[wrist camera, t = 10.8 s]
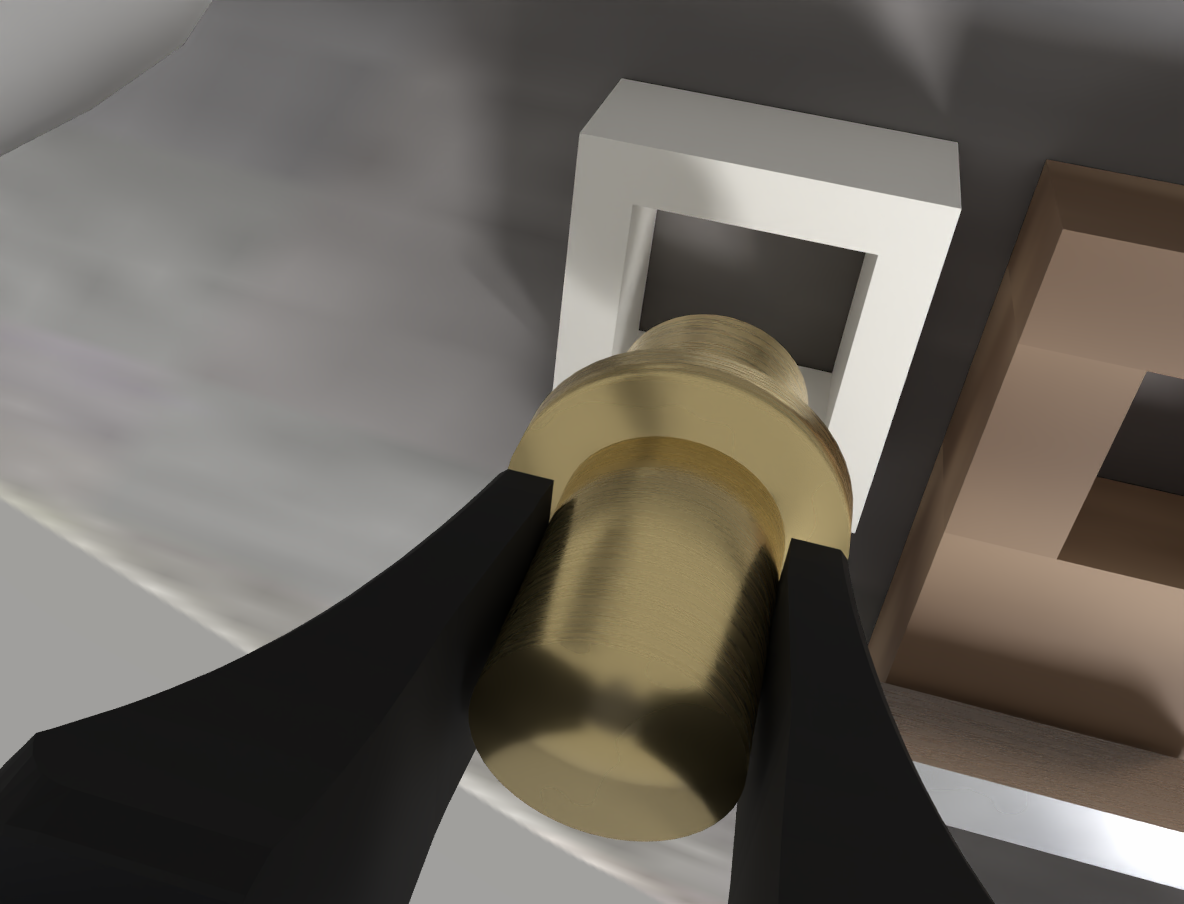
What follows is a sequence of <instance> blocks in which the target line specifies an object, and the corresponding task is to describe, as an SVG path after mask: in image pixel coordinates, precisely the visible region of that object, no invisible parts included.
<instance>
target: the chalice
mask: <svg viewBox="0 0 1184 904" xmlns="http://www.w3.org/2000/svg"><path fill="white" fill-rule="evenodd" d="M212 1H213V0H0V156H2V155H4V154H6V153H8V152H10V151H12V150H14V149H16V148H17V147H19V146H21V145H23V144H25V143H27V142H29V141H31V140H33V139H35V138H37V137H39V136H41V135H43V134H45V133H46V132H48V131H50V130H52V129H54V128H56V127H58V126H60V125H62V124H64V123H66V122H68V121H70V120H72V119H73V118H75V117H77V116H79V115H81V114H83V113H85V112H87V111H89V110H91V109H93V108H94V107H95V106H97V105H98V104H100V103H101V102H103V101H104V100H105V99H107V98H108V97H110V96H111V95H113V94H114V93H115V92H117V91H118V90H120V89H121V88H123V87H124V86H126V85H127V84H128V83H130V82H131V81H133V80H134V79H136V78H137V77H138V76H140V75H141V74H143V73H144V72H146V71H147V70H148V69H150V68H151V67H153V66H154V65H156V64H157V63H159V62H160V61H161V60H163V59H164V58H166V57H167V56H169V55H170V54H171V53H173V52H174V51H176V50H177V49H179V48H180V47H181V46H183V45H184V44H185V42H186V40H187V39H188V37H189V36H190V34H191V33H192V31H193V30H194V28H195V27H196V25H197V24H198V22H199V21H200V19H201V18H202V16H203V14H204V13H205V11H206V10H207V8H208V7H209V5H210V4H211V2H212Z"/></svg>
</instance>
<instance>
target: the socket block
mask: <svg viewBox="0 0 1184 904" xmlns="http://www.w3.org/2000/svg"><path fill="white" fill-rule="evenodd" d="M1147 371H1148V372H1153V373H1158V374H1162V375H1167V376H1172V377H1176V378H1181V379H1184V185H1178V184H1173V183H1168V182H1163V181H1157V180H1152V179H1147V178H1142V177H1136V176H1131V175H1126V174H1121V173H1116V172H1110V171H1105V170H1100V169H1095V168H1089V167H1084V166H1079V165H1074V164H1068V163H1063V162H1058V161H1053V160H1047V159H1046V162H1045V165H1044V167H1043V170H1042V173H1041V176H1040V178H1039V181H1038V184H1037V186H1036V189H1035V192H1034V195H1033V197H1032V200H1031V203H1030V205H1029V208H1028V211H1027V214H1026V216H1025V219H1024V222H1023V225H1022V227H1021V230H1020V233H1019V235H1018V238H1017V241H1016V244H1015V246H1014V249H1013V252H1012V254H1011V257H1010V260H1009V263H1008V265H1007V268H1006V271H1005V274H1004V276H1003V279H1002V282H1001V284H1000V287H999V290H998V293H997V295H996V298H995V301H994V304H993V306H992V309H991V312H990V314H989V317H988V320H987V323H986V325H985V328H984V331H983V333H982V336H981V339H980V342H979V344H978V347H977V350H976V353H975V355H974V358H973V361H972V363H971V366H970V369H969V372H968V374H967V377H966V380H965V383H964V385H963V388H962V391H961V393H960V396H959V399H958V402H957V404H956V407H955V410H954V412H953V415H952V418H951V421H950V423H949V426H948V429H947V432H946V434H945V437H944V440H943V442H942V445H941V448H940V451H939V453H938V456H937V459H936V461H935V464H934V467H933V470H932V472H931V475H930V478H929V481H928V483H927V486H926V489H925V491H924V494H923V497H922V500H921V502H920V505H919V508H918V511H917V513H916V516H915V519H914V521H913V524H912V527H911V530H910V532H909V535H908V538H907V540H906V543H905V546H904V549H903V551H902V554H901V557H900V560H899V562H898V565H897V568H896V570H895V573H894V576H893V579H892V581H891V584H890V587H889V590H888V592H887V595H886V598H885V600H884V603H883V606H882V609H881V611H880V614H879V617H878V619H877V622H876V625H875V628H874V630H873V633H872V636H871V639H870V641H869V644H868V649H869V652H870V655H871V658H872V660H873V663H874V666H875V669H876V672H877V675H878V678H879V681H880V682H883V683H887V684H891V685H895V686H898V687H902V688H906V689H910V690H914V691H918V692H922V693H926V694H930V695H933V696H937V697H941V698H945V699H949V700H953V701H957V702H961V703H964V704H968V705H972V706H976V707H980V708H984V709H988V710H992V711H995V712H999V713H1003V714H1007V715H1011V716H1015V717H1019V718H1023V719H1026V720H1030V721H1034V722H1038V723H1042V724H1046V725H1050V726H1054V727H1058V728H1061V729H1065V730H1069V731H1073V732H1077V733H1081V734H1085V735H1089V736H1092V737H1096V738H1100V739H1104V740H1108V741H1112V742H1116V743H1120V744H1123V745H1127V746H1131V747H1135V748H1139V749H1143V750H1147V751H1151V752H1154V753H1158V754H1162V755H1166V756H1170V757H1174V758H1178V759H1182V760H1184V496H1180V495H1175V494H1171V493H1167V492H1162V491H1158V490H1153V489H1149V488H1145V487H1140V486H1136V485H1131V484H1127V483H1123V482H1118V481H1114V480H1109V479H1105V478H1101V477H1096V476H1097V474H1098V472H1099V470H1100V468H1101V466H1102V464H1103V462H1104V459H1105V457H1106V455H1107V453H1108V451H1109V449H1110V447H1111V445H1112V443H1113V441H1114V439H1115V437H1116V434H1117V432H1118V430H1119V428H1120V426H1121V424H1122V422H1123V420H1124V418H1125V416H1126V414H1127V412H1128V409H1129V407H1130V405H1131V403H1132V401H1133V399H1134V397H1135V395H1136V393H1137V391H1138V389H1139V387H1140V385H1141V382H1142V380H1143V378H1144V376H1145V374H1146V372H1147Z"/></svg>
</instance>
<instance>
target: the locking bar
mask: <svg viewBox="0 0 1184 904" xmlns="http://www.w3.org/2000/svg"><path fill="white" fill-rule="evenodd" d="M880 683H881V686H882V689H883V692H884V695H885V697H886V700H887V702H888V705H889V708H890V710H891V713H892V715H893V717H894V720H895V722H896V725H897V727H898V729H899V732H900V734H901V736H902V739H903V741H904V743H905V746H906V748H907V750H908V752H909V755H910V757H911V759H912V761H913V763H914V765H915V767H916V769H917V772H918V774H919V776H920V778H921V780H922V782H923V784H924V786H925V788H926V790H927V791H928V793H929V795H930V797H931V799H932V801H933V803H934V805H935V807H936V809H937V811H938V812H939V814H940V816H941V818H942V820H943V821H944V823H945V825H948V826H952V827H955V828H959V829H963V830H966V831H970V832H974V833H977V834H981V835H985V836H988V837H992V838H996V839H999V840H1003V841H1007V842H1010V843H1014V844H1017V845H1021V846H1025V847H1028V848H1032V849H1036V850H1039V851H1043V852H1047V853H1050V854H1054V855H1058V856H1061V857H1065V858H1069V859H1072V860H1076V861H1080V862H1083V863H1087V864H1091V865H1094V866H1098V867H1102V868H1105V869H1109V870H1113V871H1116V872H1120V873H1124V874H1127V875H1131V876H1135V877H1138V878H1142V879H1146V880H1149V881H1153V882H1157V883H1160V884H1164V885H1168V886H1171V887H1175V888H1179V889H1182V890H1184V760H1182V759H1178V758H1174V757H1170V756H1166V755H1162V754H1158V753H1154V752H1151V751H1147V750H1143V749H1139V748H1135V747H1131V746H1127V745H1123V744H1120V743H1116V742H1112V741H1108V740H1104V739H1100V738H1096V737H1092V736H1089V735H1085V734H1081V733H1077V732H1073V731H1069V730H1065V729H1061V728H1058V727H1054V726H1050V725H1046V724H1042V723H1038V722H1034V721H1030V720H1026V719H1023V718H1019V717H1015V716H1011V715H1007V714H1003V713H999V712H995V711H992V710H988V709H984V708H980V707H976V706H972V705H968V704H964V703H961V702H957V701H953V700H949V699H945V698H941V697H937V696H933V695H930V694H926V693H922V692H918V691H914V690H910V689H906V688H902V687H898V686H895V685H891V684H887V683H883V682H880Z"/></svg>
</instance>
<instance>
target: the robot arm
mask: <svg viewBox="0 0 1184 904" xmlns="http://www.w3.org/2000/svg"><path fill="white" fill-rule="evenodd" d="M553 485H554V480H552V479H548V478H543V477H539V476H535V475H531V474H527V473H523V472H519V471H515V470H510V469H507V470H506V471H504V472H502V473H500V474H499V475H498V476H497V477H496V478H494V479H493V480H492V481H491V482H490V483H489V484H488V485H487V486H486V487H485V488H484V489H483V490H482V491H481V492H479V493H478V494H477V495H476V496H475V497H474V498H473V499H472V500H471V501H470V502H468V503H467V504H466V505H465V506H464V507H463V508H462V509H461V510H459V511H458V512H457V513H456V514H455V515H454V516H452V517H451V518H450V519H449V520H448V521H447V522H446V523H444V524H443V525H442V526H441V527H440V528H438V529H437V530H436V531H435V532H433V533H432V534H431V535H430V536H428V537H427V538H426V539H425V540H423V541H422V542H421V543H420V544H419V545H417V546H416V547H415V548H414V549H412V550H411V551H410V552H409V553H407V554H406V555H405V556H404V557H402V558H401V559H400V560H398V561H397V562H396V563H394V564H393V565H392V566H390V567H389V568H387V569H386V570H384V571H383V572H382V573H380V574H379V575H377V576H376V577H375V578H373V579H372V580H370V581H369V582H368V583H366V584H365V585H363V586H362V587H361V588H359V589H358V590H356V591H355V592H354V593H352V594H351V595H349V596H348V597H346V598H345V599H343V600H342V601H340V602H338V603H337V604H335V605H334V606H332V607H331V608H329V609H328V610H326V611H324V612H323V613H321V614H319V615H318V616H316V617H315V618H313V619H311V620H309V621H308V622H306V623H304V624H303V625H301V626H299V627H297V628H296V629H294V630H292V631H291V632H289V633H287V634H285V635H283V636H281V637H280V638H278V639H276V640H274V641H272V642H270V643H268V644H266V645H264V646H262V647H260V648H258V649H257V650H255V651H253V652H251V653H249V654H247V655H245V656H243V657H241V658H239V659H237V660H235V661H233V662H231V663H229V664H227V665H225V666H223V667H221V668H218V669H216V670H214V671H212V672H210V673H207V674H205V675H202V676H200V677H197V678H195V679H192V680H190V681H188V682H185V683H183V684H180V685H178V686H176V687H173V688H171V689H169V690H165V691H163V692H160V693H158V694H156V695H152V696H150V697H147V698H145V699H142V700H139V701H136V702H134V703H131V704H128V705H125V706H122V707H119V708H116V709H113V710H110V711H107V712H103V713H100V714H97V715H94V716H91V717H88V718H84V719H81V720H78V721H75V722H72V723H69V724H65V725H62V726H59V727H56V728H53V729H49V730H46V731H42V732H38V733H36V734H35V735H34V736H33V737H32V738H31V739H30V740H29V741H28V742H27V743H26V744H25V745H24V746H23V747H22V748H21V749H20V750H19V751H18V752H17V753H15V755H13V756H12V757H11V758H10V759H9V760H8V761H7V762H6V763H5V764H4V765H3V767H2V768H1V769H0V904H409V901H410V899H411V896H412V893H413V891H414V888H415V885H416V883H417V880H418V878H419V875H420V872H421V869H422V867H423V864H424V862H425V859H426V856H427V854H428V851H429V848H430V846H431V843H432V840H433V838H434V835H435V833H436V830H437V828H438V826H439V824H440V822H441V819H442V817H443V815H444V813H445V810H446V808H447V806H448V804H449V802H450V800H451V798H452V796H453V794H454V792H455V790H456V788H457V786H458V784H459V782H460V780H461V778H462V776H463V774H464V772H465V770H466V768H467V766H468V764H469V762H470V760H471V758H472V756H473V754H474V752H475V750H476V746H475V744H474V741H473V739H472V736H471V731H470V727H469V713H468V712H469V705H470V699H471V696H472V694H473V691H474V688H475V686H476V684H477V682H478V679H479V677H480V675H481V673H482V670H483V668H484V666H485V664H486V662H487V659H488V657H489V655H490V653H491V651H492V648H493V646H494V644H495V642H496V639H497V637H498V635H499V633H500V631H501V628H502V626H503V624H504V622H505V619H506V617H507V615H508V613H509V611H510V608H511V606H512V604H513V602H514V600H515V597H516V595H517V593H518V591H519V588H520V586H521V584H522V582H523V580H524V577H525V575H526V573H527V571H528V569H529V566H530V564H531V562H532V560H533V557H534V555H535V553H536V551H537V549H538V546H539V544H540V542H541V540H542V537H543V535H544V533H545V531H546V529H547V526H548V524H549V521H550V512H551V503H552V494H553ZM728 904H995V903H994V902H993V900H992V899H991V897H990V896H989V894H988V893H987V891H986V890H985V888H984V887H983V885H982V884H981V882H980V881H979V879H978V877H977V876H976V874H975V873H974V871H973V870H972V868H971V867H970V865H969V864H968V862H967V861H966V859H965V858H964V856H963V854H962V853H961V851H960V849H959V848H958V846H957V844H956V842H955V841H954V839H953V837H952V835H951V834H950V832H949V830H948V828H947V827H946V825H945V823H944V821H943V820H942V818H941V816H940V814H939V812H938V811H937V809H936V807H935V805H934V803H933V801H932V799H931V797H930V795H929V793H928V791H927V790H926V788H925V786H924V784H923V782H922V780H921V778H920V776H919V774H918V772H917V769H916V767H915V765H914V763H913V761H912V759H911V757H910V755H909V752H908V750H907V748H906V746H905V743H904V741H903V739H902V736H901V734H900V732H899V729H898V727H897V725H896V722H895V720H894V717H893V715H892V713H891V710H890V708H889V705H888V702H887V700H886V697H885V695H884V692H883V689H882V686H881V683H880V681H879V678H878V675H877V672H876V669H875V666H874V663H873V660H872V658H871V655H870V652H869V649H868V645H867V642H866V639H865V636H864V632H863V629H862V625H861V621H860V618H859V614H858V610H857V607H856V602H855V598H854V594H853V590H852V585H851V580H850V574H849V568H848V560H847V558H846V556H845V555H844V553H843V552H842V551H841V550H840V549H836V548H832V547H828V546H824V545H819V544H815V543H811V542H807V541H803V540H799V539H795V538H791V541H790V544H789V548H788V551H787V555H786V558H785V562H784V566H783V569H782V573H781V576H780V580H779V584H778V590H777V596H776V602H775V608H774V614H773V620H772V626H771V632H770V638H769V647H768V653H767V659H766V665H765V670H764V676H763V682H762V688H761V694H760V700H759V706H758V712H757V718H756V724H755V730H754V736H753V742H752V748H751V754H750V760H749V765H748V771H747V777H746V783H745V787H744V790H743V792H742V795H741V797H740V799H739V800H738V802H737V812H736V824H735V836H734V848H733V860H732V871H731V883H730V892H729V900H728Z"/></svg>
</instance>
